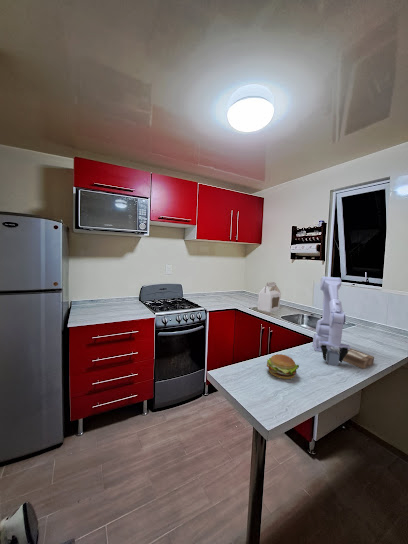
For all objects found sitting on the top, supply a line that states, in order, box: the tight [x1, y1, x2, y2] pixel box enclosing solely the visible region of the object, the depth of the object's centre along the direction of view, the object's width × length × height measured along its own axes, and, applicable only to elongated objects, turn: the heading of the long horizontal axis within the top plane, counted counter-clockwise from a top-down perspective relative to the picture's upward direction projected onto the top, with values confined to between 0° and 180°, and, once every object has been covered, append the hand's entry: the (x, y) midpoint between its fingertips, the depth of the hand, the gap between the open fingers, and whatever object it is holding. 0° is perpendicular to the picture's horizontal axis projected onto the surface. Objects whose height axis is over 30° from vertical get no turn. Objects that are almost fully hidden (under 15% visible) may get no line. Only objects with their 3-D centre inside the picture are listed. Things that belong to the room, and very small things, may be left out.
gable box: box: [257, 281, 282, 313], centre depth 231 cm, size 22×13×28 cm, turn 136°
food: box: [266, 353, 300, 380], centre depth 105 cm, size 14×14×8 cm
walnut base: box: [338, 347, 375, 370], centre depth 123 cm, size 12×12×4 cm
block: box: [325, 349, 340, 367], centre depth 119 cm, size 4×4×6 cm
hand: (332, 360), depth 119 cm, fingers open, 7 cm apart
